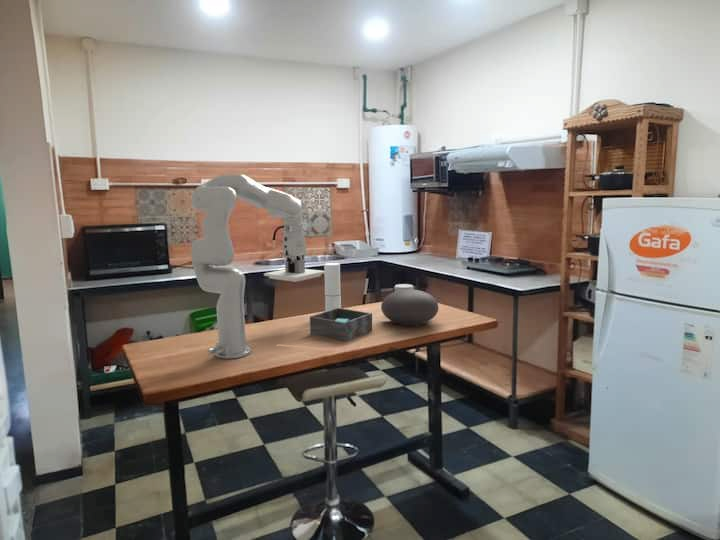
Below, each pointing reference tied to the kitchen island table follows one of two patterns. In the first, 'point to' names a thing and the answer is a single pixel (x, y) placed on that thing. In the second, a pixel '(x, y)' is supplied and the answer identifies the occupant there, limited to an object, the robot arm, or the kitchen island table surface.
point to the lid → (298, 274)
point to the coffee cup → (403, 287)
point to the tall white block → (332, 286)
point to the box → (341, 324)
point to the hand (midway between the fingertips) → (295, 271)
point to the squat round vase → (409, 307)
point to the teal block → (342, 320)
